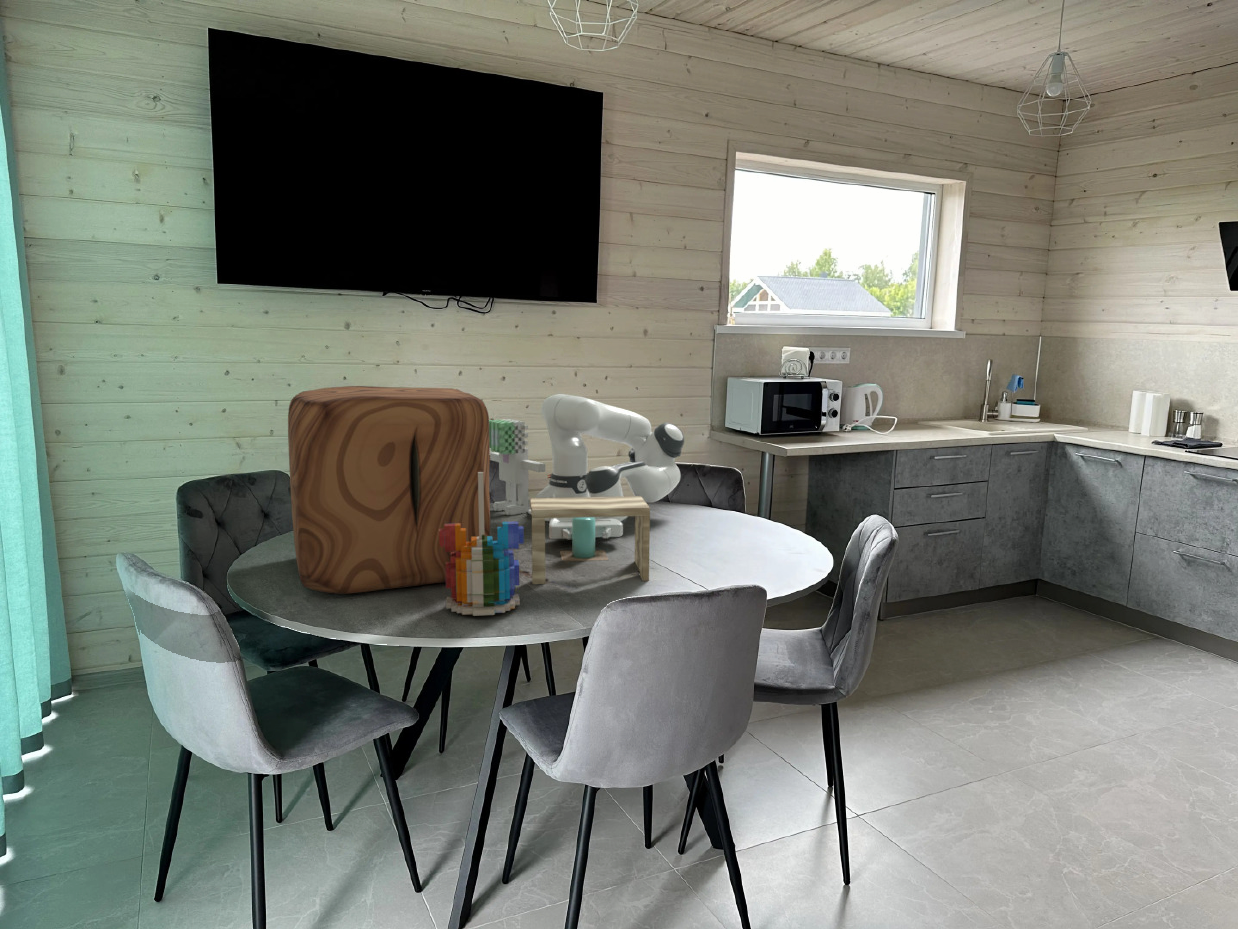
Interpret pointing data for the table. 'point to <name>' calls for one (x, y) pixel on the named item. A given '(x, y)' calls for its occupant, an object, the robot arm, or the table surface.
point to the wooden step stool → (589, 508)
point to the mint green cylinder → (583, 537)
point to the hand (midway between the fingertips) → (588, 536)
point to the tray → (568, 557)
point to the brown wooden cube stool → (383, 483)
